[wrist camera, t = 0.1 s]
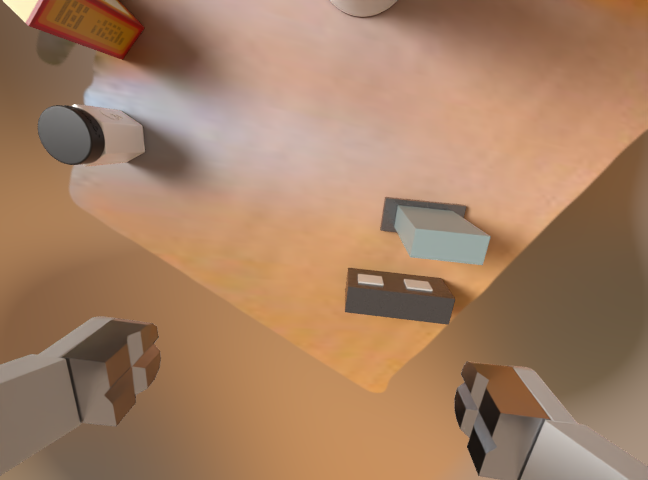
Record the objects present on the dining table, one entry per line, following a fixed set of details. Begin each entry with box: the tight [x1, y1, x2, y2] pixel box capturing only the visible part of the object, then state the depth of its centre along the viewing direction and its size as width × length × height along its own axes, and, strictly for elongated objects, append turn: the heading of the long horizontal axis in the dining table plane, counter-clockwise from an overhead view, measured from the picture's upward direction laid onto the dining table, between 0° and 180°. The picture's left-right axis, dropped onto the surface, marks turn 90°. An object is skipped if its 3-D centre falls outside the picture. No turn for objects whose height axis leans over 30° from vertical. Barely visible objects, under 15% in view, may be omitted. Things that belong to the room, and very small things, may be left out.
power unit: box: [345, 268, 455, 324], centre depth 55 cm, size 5×18×8 cm, turn 85°
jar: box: [38, 104, 145, 166], centre depth 49 cm, size 9×8×12 cm
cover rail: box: [380, 197, 466, 232], centre depth 54 cm, size 6×14×1 cm, turn 85°
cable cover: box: [394, 205, 491, 265], centre depth 47 cm, size 4×10×15 cm, turn 85°
